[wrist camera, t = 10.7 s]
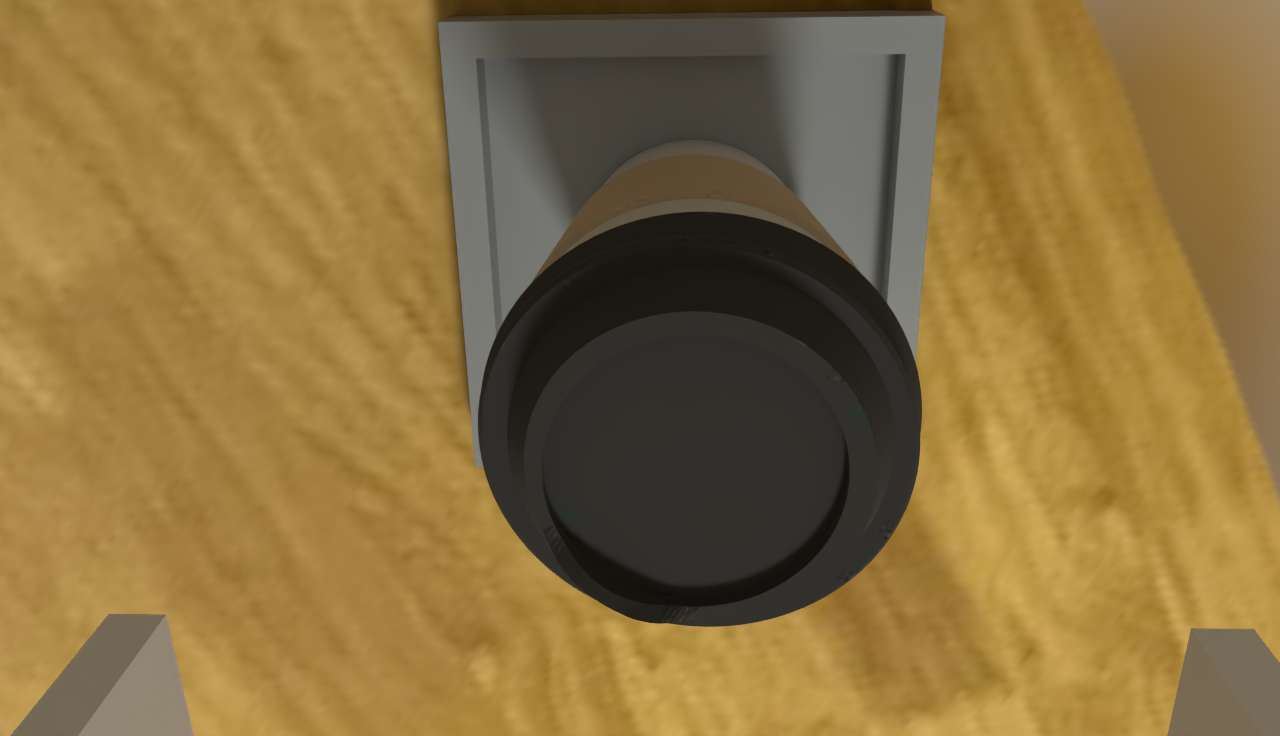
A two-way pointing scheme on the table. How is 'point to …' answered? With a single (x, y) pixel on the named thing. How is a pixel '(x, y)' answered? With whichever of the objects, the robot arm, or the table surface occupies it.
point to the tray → (686, 132)
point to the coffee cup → (700, 398)
